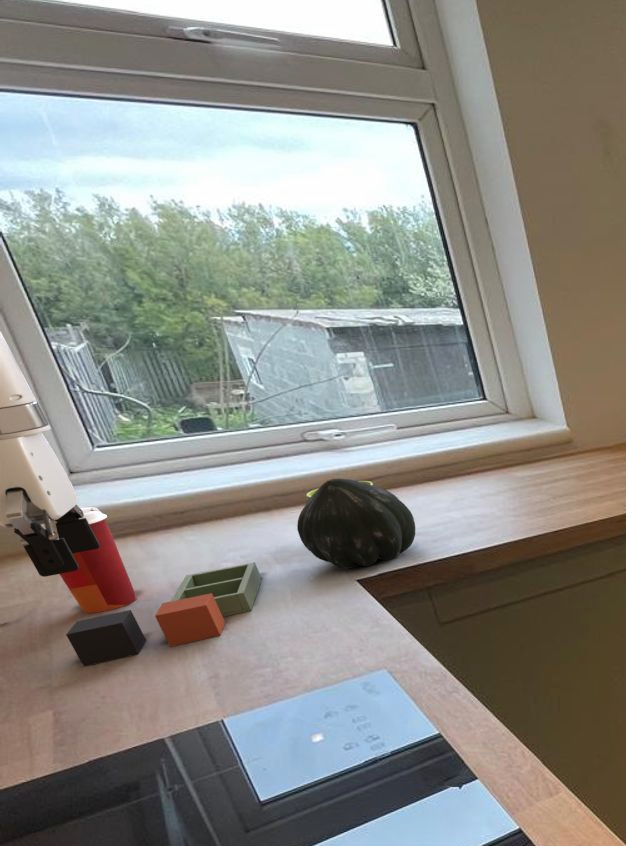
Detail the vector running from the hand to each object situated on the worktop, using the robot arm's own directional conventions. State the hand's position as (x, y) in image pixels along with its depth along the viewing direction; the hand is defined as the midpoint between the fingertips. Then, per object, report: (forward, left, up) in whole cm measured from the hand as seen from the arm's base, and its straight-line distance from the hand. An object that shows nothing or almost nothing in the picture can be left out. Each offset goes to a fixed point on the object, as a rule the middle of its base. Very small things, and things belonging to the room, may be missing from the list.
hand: (72, 561), depth 99 cm
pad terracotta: (+7, 0, -13) cm, 15 cm away
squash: (+26, +19, -13) cm, 35 cm away
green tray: (+8, +13, -13) cm, 20 cm away
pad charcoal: (-1, 0, -13) cm, 13 cm away
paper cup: (-5, +23, -13) cm, 27 cm away
